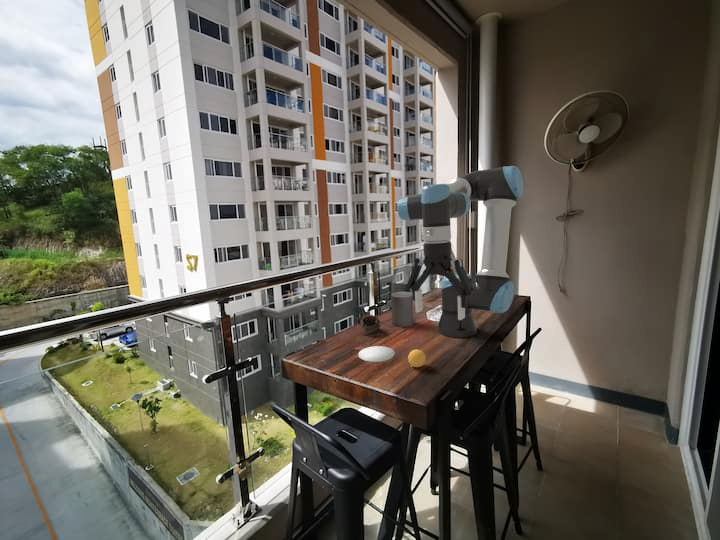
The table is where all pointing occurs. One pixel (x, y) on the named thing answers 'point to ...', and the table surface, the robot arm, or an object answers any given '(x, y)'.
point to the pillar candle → (402, 309)
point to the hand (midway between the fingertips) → (439, 314)
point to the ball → (416, 358)
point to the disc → (376, 354)
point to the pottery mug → (368, 323)
